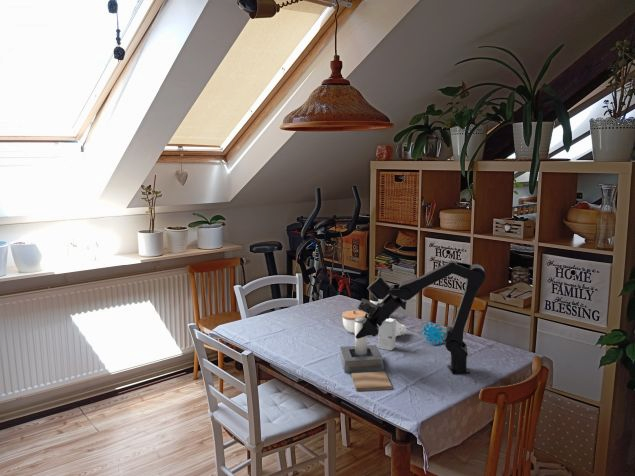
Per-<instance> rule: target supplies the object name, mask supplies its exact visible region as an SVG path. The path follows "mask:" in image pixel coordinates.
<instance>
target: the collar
mask: <svg viewBox="0 0 635 476" xmlns="http://www.w3.org/2000/svg"><path fill="white" fill-rule="evenodd" d="M339 354H340V355H339V357H340V361H341V364H342V365H341V366H342V369H343V371H344V373H346V374H347V373H348V374H349V373H350V374H351V373H366V372H384V358H383V357H382V354H381V351H380V350H379V348H378V345H377V344H372V345H371V344H370V345H369V344H367V353H366V354H364V355H358V354H356V353H355V345H348V346H347V345H346V346H340V347H339Z"/></svg>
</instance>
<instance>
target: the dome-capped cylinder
mask: <svg viewBox="0 0 635 476" xmlns="http://www.w3.org/2000/svg"><path fill="white" fill-rule="evenodd" d="M363 320H364V321H365V320H366V318H363V317H358V318H355V333H354V346H355V353H356V354H358V355H364V354H366V353H367V345H368V336H365V337H362V338H359V339H357V338H356V335H357V334H358V332H359V331H360V330H361V328H362V327H363V325H362V323H363Z"/></svg>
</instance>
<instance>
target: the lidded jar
mask: <svg viewBox="0 0 635 476" xmlns="http://www.w3.org/2000/svg"><path fill="white" fill-rule="evenodd" d="M366 314H367V313H366V312H364V311H362V310H356V309H354V310H346V311H344V312H342V315H341V316H342V324H343V327H344V328H345V330H346V331H347V332H348V333H351V334H355V318H358V317H363V318H365V315H366Z"/></svg>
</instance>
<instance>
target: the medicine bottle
mask: <svg viewBox="0 0 635 476" xmlns="http://www.w3.org/2000/svg"><path fill="white" fill-rule="evenodd" d="M383 300H384V299H381V300H380V299H377V298H376V297H375V296H374V295H373V294H372V293H371V292H370V293H369V301H370V302H372V303H374V304H375V305H377V304H378V303H381V302H382V301H383ZM367 314H369V313H367Z"/></svg>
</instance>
